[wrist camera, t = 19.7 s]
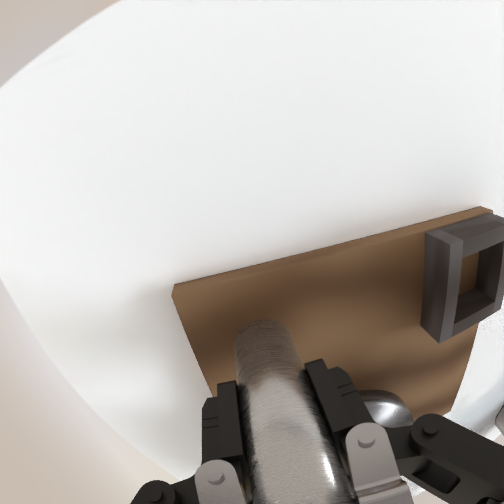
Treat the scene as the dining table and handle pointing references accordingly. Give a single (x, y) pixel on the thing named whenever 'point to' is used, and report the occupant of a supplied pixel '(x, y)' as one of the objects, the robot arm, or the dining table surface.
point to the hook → (284, 422)
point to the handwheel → (386, 408)
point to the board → (364, 306)
